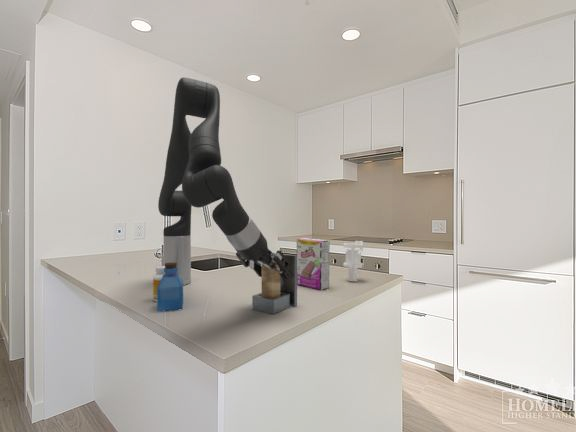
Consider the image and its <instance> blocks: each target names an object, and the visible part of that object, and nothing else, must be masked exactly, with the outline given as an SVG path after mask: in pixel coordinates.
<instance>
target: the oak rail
mask: <svg viewBox="0 0 576 432" xmlns="http://www.w3.org/2000/svg"><path fill="white" fill-rule="evenodd" d="M273 262H274V260H273V259H272V260H271V262H270V265H272V264H273ZM261 267H262V277H261V293H262V296H263V297H267V298H272V299H274V298H276V297H279V296H280V274H279V273H278V272H277V271H275V270H274V269H273V270H270V269H269V268H267V267H266V266H264V265H261ZM276 267H277V268H279V266H278V265H277V264H276Z"/></svg>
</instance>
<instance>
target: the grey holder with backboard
mask: <svg viewBox="0 0 576 432" xmlns="http://www.w3.org/2000/svg"><path fill="white" fill-rule="evenodd" d="M282 254H283V255H284V256H285V258H286V259H287V260H288V262H289V263H290V266H289V268H288V270H287V271H288V272H289V273H290V276H289V278H288V280H287V281H284V280H283V279H282V277H281V276H280V296H279V297H276V298H274V299H272V298H267V297H263V296H262V292H260V293H257V294H253V295H252V297H251V298H252V300H251V301H252V303H251V304H252V305H251V306H252V307H251V308H252V310H254V311H259V312H263V313H268V314H272V315H275V314H278V313H279V312H282V311H284V310H286V309H289V308H290V307H294V308H295V307H297V306H298V285H297V254H289V253H288V254H287V253H282Z"/></svg>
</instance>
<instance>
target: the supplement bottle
mask: <svg viewBox="0 0 576 432" xmlns="http://www.w3.org/2000/svg"><path fill="white" fill-rule="evenodd" d="M164 268H165V266H162V265H160V266H159V265H158V266H156V267H155V272H156V274H154V275H153V277H152V278H153V282H152V284H153V286H152V289H153V291H152V292H153V293H152V294H153V295H152V296H153V301H154V302H157V288H158V286H159V283H160V281H161V279H162V277H163V275H165V272H164Z"/></svg>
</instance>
